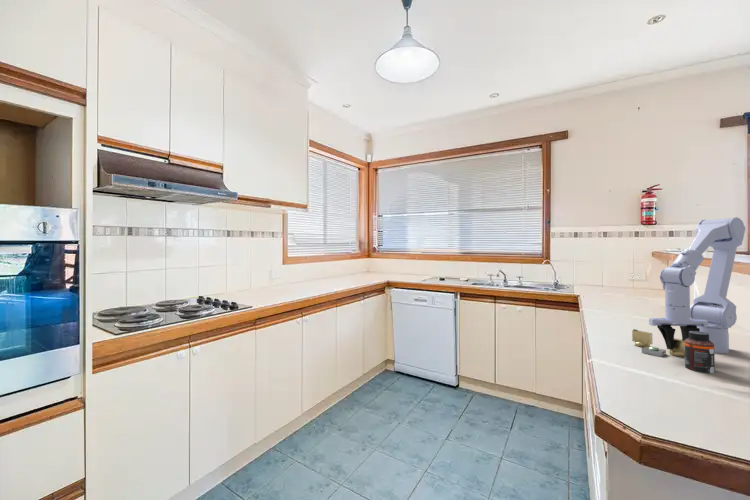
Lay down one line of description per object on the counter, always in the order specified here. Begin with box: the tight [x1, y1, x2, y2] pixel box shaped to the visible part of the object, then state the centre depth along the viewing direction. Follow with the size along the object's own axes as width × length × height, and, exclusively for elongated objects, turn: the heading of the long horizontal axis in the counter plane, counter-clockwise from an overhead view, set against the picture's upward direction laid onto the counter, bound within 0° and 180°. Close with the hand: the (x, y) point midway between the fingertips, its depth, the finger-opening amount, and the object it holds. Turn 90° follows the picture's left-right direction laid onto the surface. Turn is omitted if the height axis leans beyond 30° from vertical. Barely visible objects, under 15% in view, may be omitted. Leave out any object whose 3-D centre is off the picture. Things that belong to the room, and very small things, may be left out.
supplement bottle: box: [684, 331, 716, 374], centre depth 92 cm, size 6×6×11 cm
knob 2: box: [666, 337, 685, 358], centre depth 104 cm, size 5×4×5 cm
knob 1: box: [631, 329, 654, 348], centre depth 114 cm, size 5×4×5 cm
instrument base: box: [641, 346, 667, 358], centre depth 108 cm, size 12×16×3 cm
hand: (678, 349), depth 104 cm, fingers closed on knob 2, 4 cm apart
